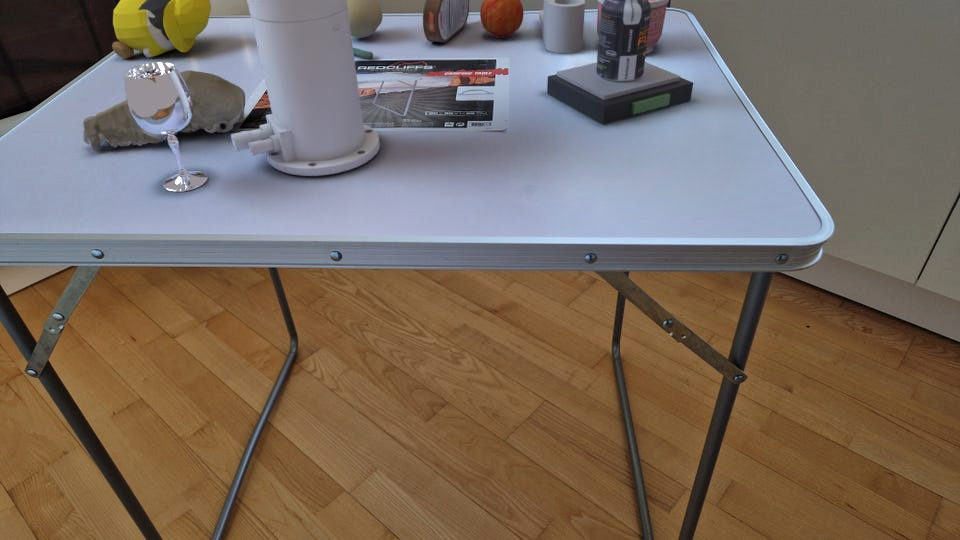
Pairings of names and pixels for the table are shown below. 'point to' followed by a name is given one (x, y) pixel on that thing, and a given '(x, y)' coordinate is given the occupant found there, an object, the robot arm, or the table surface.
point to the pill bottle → (623, 39)
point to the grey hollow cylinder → (562, 25)
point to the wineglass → (163, 112)
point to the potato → (363, 17)
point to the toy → (158, 25)
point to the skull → (211, 111)
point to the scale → (618, 92)
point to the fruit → (501, 16)
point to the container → (655, 25)
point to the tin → (444, 18)
